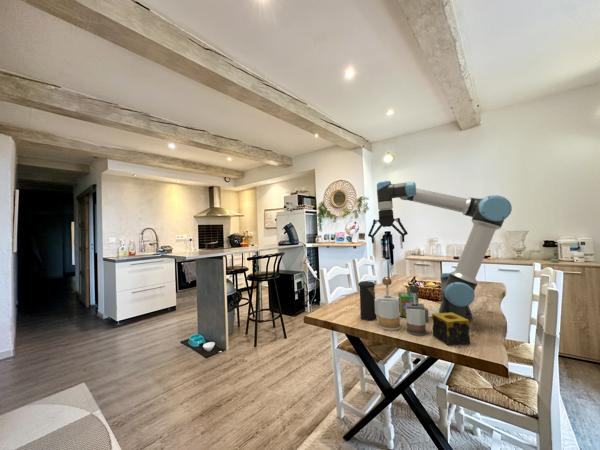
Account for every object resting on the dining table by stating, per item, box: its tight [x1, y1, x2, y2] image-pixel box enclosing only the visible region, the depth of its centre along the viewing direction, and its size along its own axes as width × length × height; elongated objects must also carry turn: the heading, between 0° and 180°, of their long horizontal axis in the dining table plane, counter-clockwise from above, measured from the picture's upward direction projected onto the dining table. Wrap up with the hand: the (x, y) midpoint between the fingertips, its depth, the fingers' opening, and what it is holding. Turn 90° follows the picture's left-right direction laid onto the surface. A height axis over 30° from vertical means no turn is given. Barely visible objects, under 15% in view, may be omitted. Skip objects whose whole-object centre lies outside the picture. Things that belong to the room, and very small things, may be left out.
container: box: [357, 280, 378, 321], centre depth 136 cm, size 9×9×20 cm
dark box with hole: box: [431, 312, 471, 346], centre depth 106 cm, size 10×10×10 cm
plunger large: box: [381, 276, 392, 302], centre depth 123 cm, size 4×4×18 cm
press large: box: [374, 294, 402, 331], centre depth 123 cm, size 12×10×14 cm
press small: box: [405, 303, 430, 337], centre depth 115 cm, size 10×8×12 cm
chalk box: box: [397, 287, 420, 318], centre depth 137 cm, size 9×9×15 cm
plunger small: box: [408, 283, 420, 306], centre depth 115 cm, size 4×4×16 cm
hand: (388, 248), depth 133 cm, fingers open, 13 cm apart
